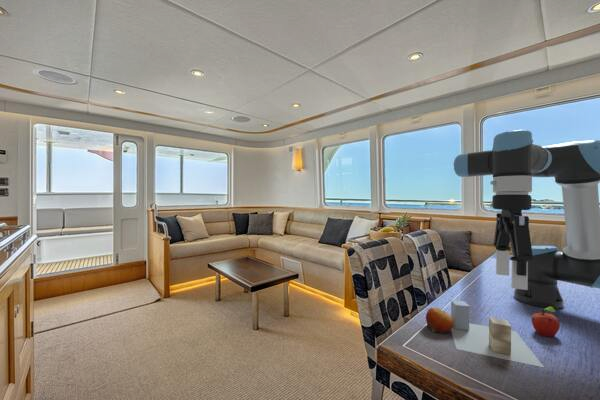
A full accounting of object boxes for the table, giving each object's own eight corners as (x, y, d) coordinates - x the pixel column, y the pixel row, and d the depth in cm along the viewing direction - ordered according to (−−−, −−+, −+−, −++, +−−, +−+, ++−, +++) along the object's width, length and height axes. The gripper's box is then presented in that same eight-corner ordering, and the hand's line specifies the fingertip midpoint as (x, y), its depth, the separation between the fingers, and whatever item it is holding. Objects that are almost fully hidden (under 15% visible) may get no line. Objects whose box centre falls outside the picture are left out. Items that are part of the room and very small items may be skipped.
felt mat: (515, 332, 81) (515, 331, 81) (544, 369, 64) (544, 367, 64) (447, 320, 89) (447, 319, 89) (456, 350, 71) (456, 349, 71)
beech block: (505, 347, 72) (506, 319, 72) (510, 355, 68) (511, 326, 68) (488, 344, 74) (489, 317, 74) (492, 352, 70) (493, 323, 70)
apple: (524, 329, 83) (524, 299, 83) (543, 329, 83) (543, 298, 83) (548, 343, 75) (549, 309, 75) (569, 342, 76) (570, 309, 76)
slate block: (464, 325, 85) (464, 301, 85) (469, 331, 81) (469, 306, 81) (451, 323, 86) (451, 300, 86) (455, 329, 82) (455, 305, 82)
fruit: (415, 320, 86) (427, 300, 86) (434, 331, 86) (445, 311, 87) (429, 333, 78) (442, 310, 78) (450, 345, 78) (462, 323, 79)
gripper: (481, 194, 76) (480, 267, 76) (509, 192, 54) (507, 294, 54) (512, 194, 73) (511, 270, 73) (555, 192, 51) (554, 300, 51)
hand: (510, 281), depth 64 cm, fingers open, 11 cm apart
